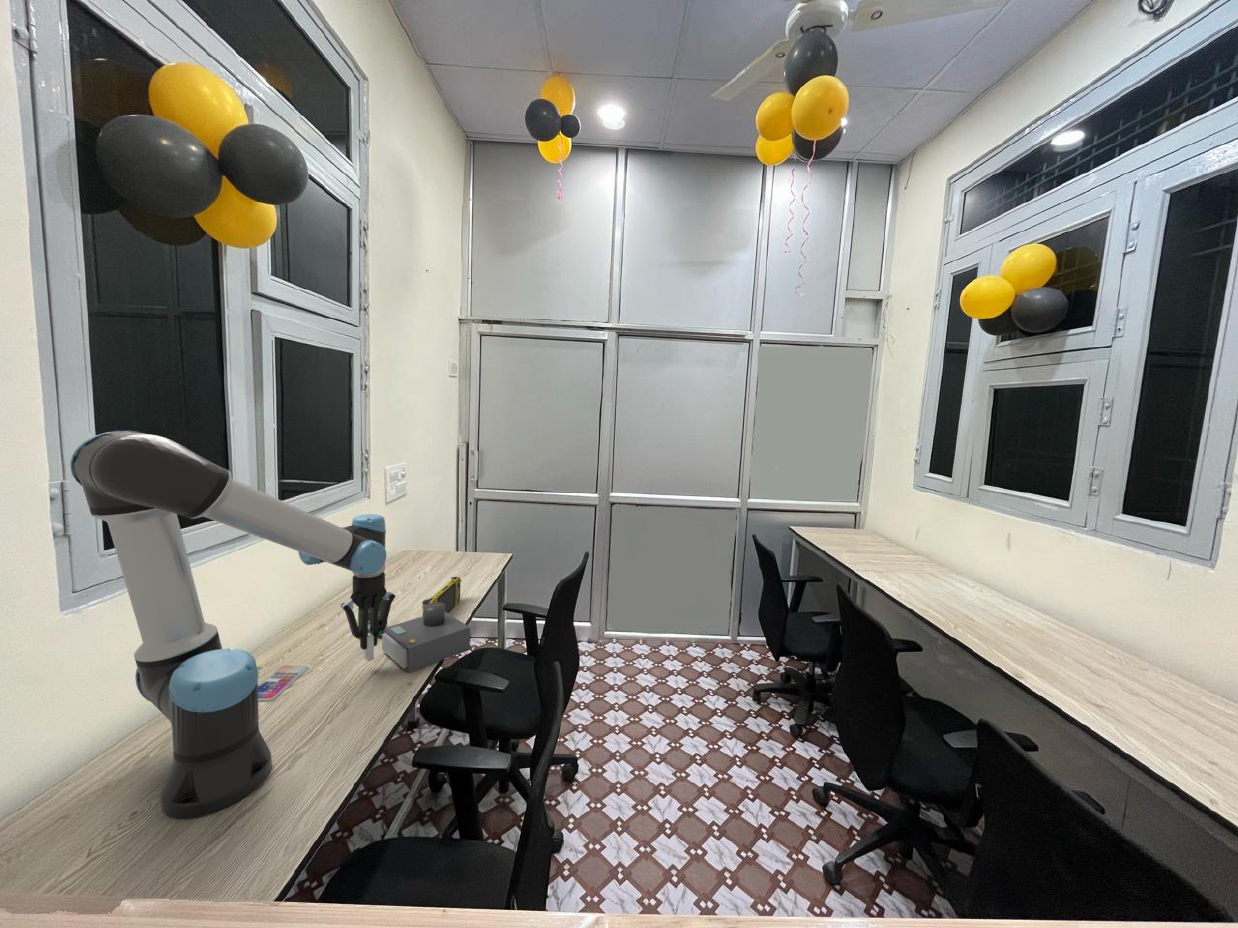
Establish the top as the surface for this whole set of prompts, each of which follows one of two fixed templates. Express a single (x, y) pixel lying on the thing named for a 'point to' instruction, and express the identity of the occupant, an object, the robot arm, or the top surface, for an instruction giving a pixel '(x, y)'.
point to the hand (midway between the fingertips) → (368, 658)
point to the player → (431, 636)
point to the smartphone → (279, 682)
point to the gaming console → (447, 595)
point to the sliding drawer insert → (395, 650)
